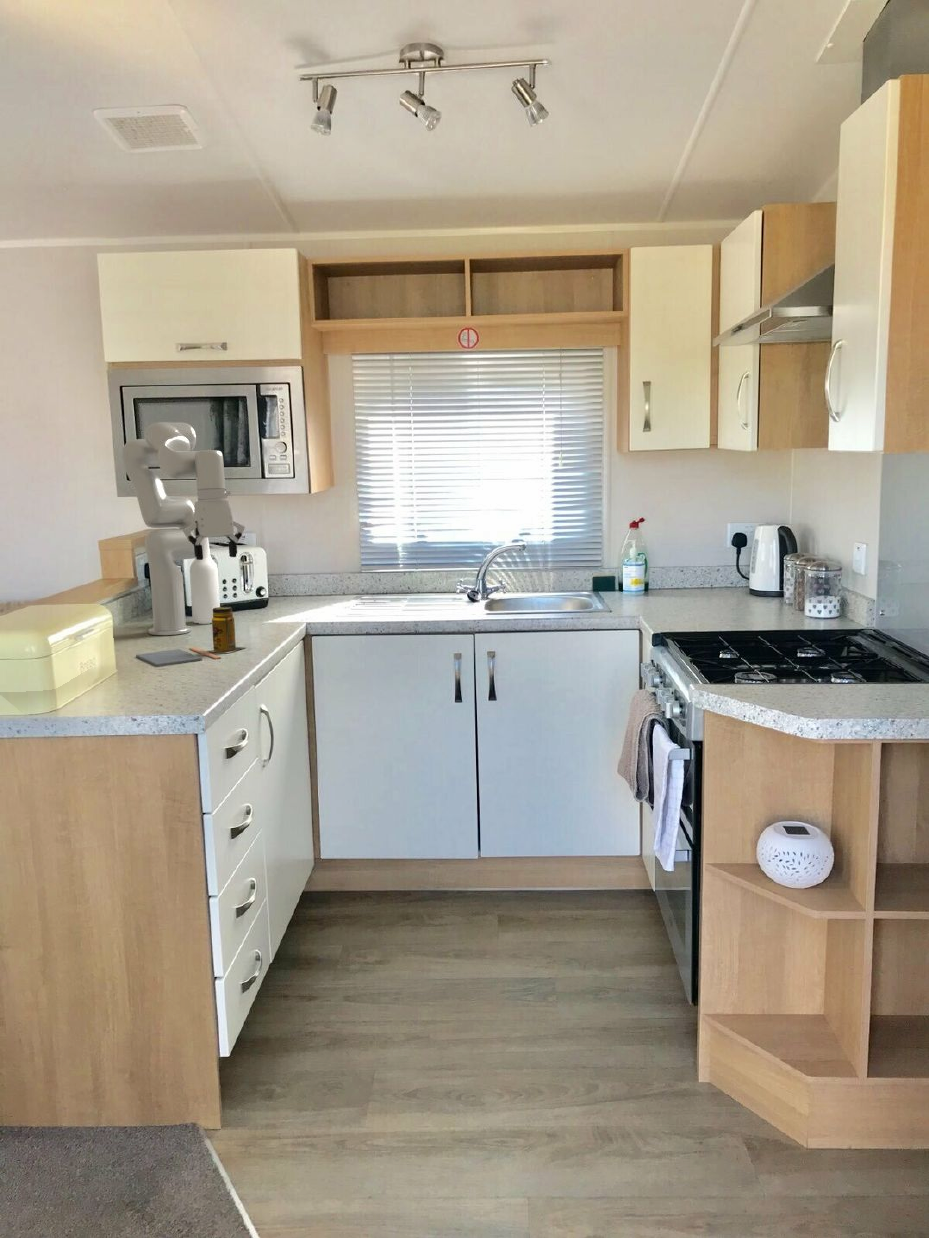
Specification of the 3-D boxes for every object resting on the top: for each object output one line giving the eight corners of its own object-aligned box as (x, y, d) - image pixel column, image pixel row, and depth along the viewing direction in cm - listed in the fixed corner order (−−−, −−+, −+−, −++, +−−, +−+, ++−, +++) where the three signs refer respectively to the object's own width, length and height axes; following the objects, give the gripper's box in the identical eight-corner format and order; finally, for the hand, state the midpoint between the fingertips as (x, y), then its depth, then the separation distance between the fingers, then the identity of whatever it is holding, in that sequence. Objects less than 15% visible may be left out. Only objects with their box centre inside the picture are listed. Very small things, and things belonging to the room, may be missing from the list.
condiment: (206, 651, 264) (204, 609, 262) (226, 646, 272) (224, 604, 270) (228, 653, 261) (225, 610, 259) (247, 648, 269) (245, 606, 267)
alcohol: (210, 625, 307) (205, 531, 302) (187, 623, 310) (181, 531, 305) (226, 620, 315) (221, 529, 310) (203, 619, 318) (197, 529, 313)
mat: (136, 656, 258) (136, 654, 258) (179, 651, 265) (179, 649, 265) (157, 666, 246) (157, 664, 245) (202, 660, 253) (201, 658, 253)
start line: (189, 649, 268) (189, 647, 268) (194, 648, 269) (194, 647, 269) (215, 659, 254) (215, 657, 254) (220, 658, 255) (220, 656, 255)
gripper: (235, 495, 270) (240, 555, 272) (176, 497, 260) (181, 560, 262) (247, 494, 264) (251, 556, 266) (186, 496, 254) (191, 561, 256)
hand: (216, 558), depth 264 cm, fingers open, 9 cm apart
